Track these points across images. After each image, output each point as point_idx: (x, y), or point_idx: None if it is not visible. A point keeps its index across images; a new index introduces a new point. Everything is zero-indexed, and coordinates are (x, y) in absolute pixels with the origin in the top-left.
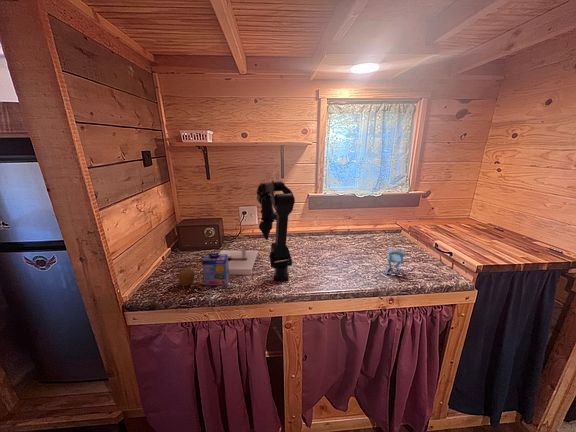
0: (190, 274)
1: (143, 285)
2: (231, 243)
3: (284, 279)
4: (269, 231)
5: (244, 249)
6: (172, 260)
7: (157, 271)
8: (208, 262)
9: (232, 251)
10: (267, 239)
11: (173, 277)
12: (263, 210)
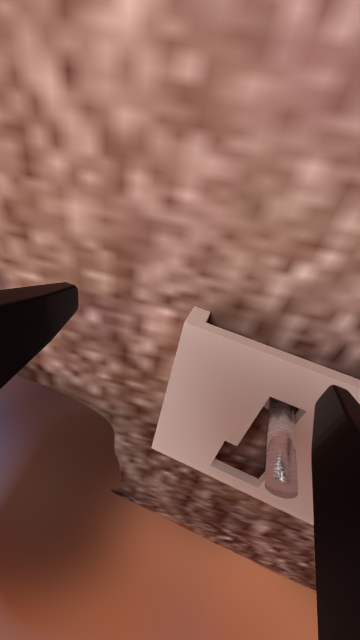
0: None
1: (293, 578)
2: (59, 376)
3: None
4: (56, 300)
5: (297, 483)
6: (173, 513)
7: (228, 546)
8: None
9: (169, 423)
10: (345, 396)
11: (280, 544)
12: None
